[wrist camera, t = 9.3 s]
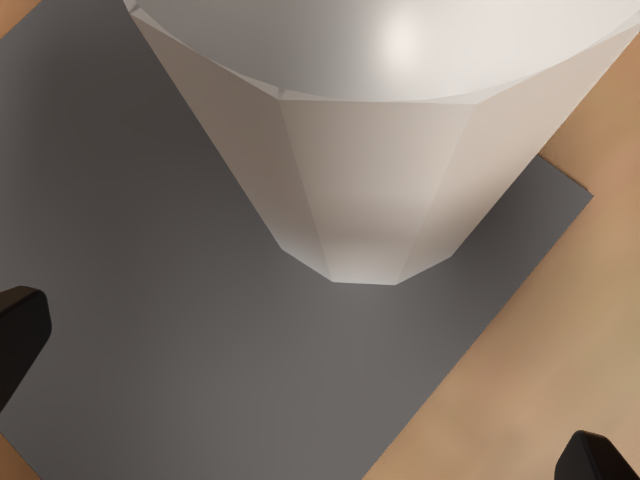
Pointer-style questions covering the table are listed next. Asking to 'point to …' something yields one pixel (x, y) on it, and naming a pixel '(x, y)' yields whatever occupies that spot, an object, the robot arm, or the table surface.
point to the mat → (208, 283)
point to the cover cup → (381, 110)
